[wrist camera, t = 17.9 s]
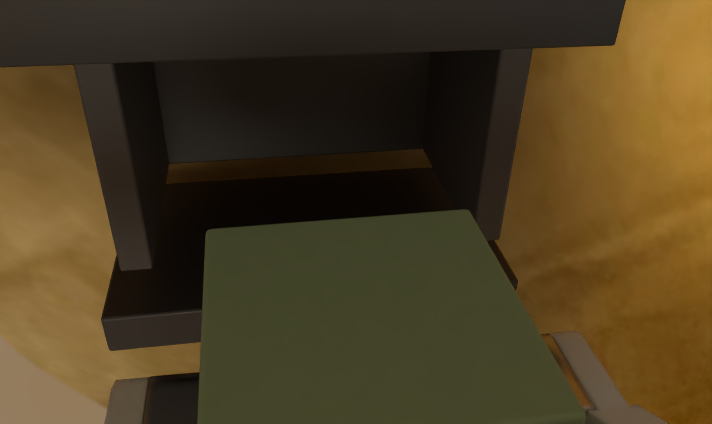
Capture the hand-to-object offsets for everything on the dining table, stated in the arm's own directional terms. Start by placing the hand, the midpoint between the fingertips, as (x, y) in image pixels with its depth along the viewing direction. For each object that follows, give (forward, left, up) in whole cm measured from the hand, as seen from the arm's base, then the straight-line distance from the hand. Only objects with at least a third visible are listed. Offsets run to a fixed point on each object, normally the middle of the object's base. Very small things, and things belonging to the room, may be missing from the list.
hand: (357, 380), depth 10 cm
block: (0, 0, -2) cm, 2 cm away
